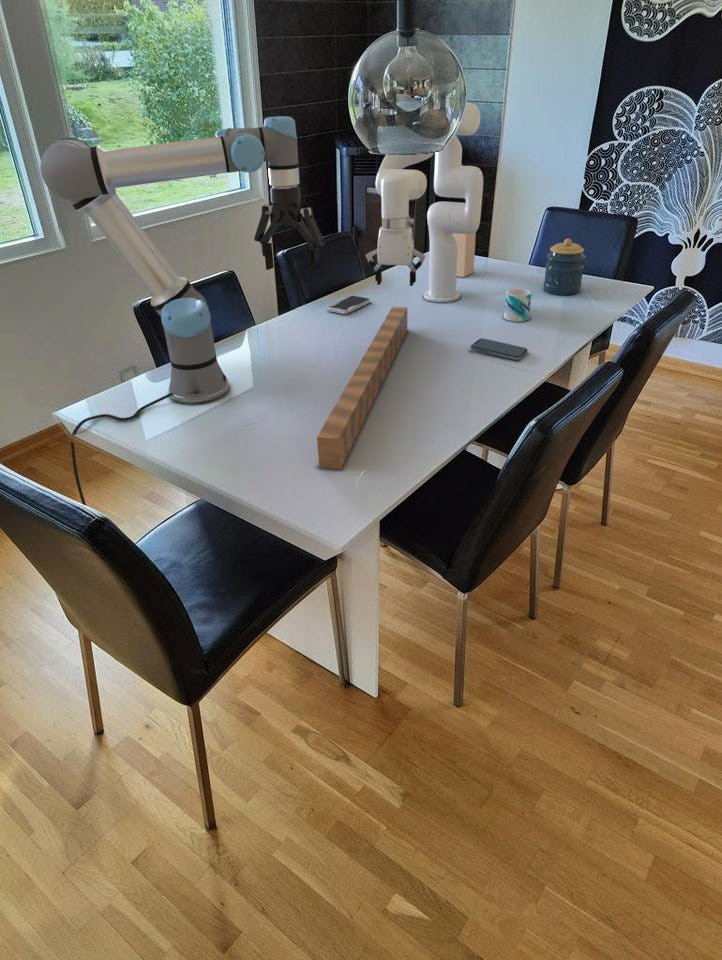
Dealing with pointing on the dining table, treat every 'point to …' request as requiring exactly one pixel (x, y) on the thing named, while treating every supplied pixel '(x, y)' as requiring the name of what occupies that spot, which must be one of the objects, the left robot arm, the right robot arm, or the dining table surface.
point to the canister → (564, 268)
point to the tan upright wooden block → (465, 253)
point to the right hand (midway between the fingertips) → (395, 284)
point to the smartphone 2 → (499, 349)
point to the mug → (517, 304)
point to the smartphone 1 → (348, 304)
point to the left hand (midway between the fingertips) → (291, 271)
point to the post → (360, 392)
